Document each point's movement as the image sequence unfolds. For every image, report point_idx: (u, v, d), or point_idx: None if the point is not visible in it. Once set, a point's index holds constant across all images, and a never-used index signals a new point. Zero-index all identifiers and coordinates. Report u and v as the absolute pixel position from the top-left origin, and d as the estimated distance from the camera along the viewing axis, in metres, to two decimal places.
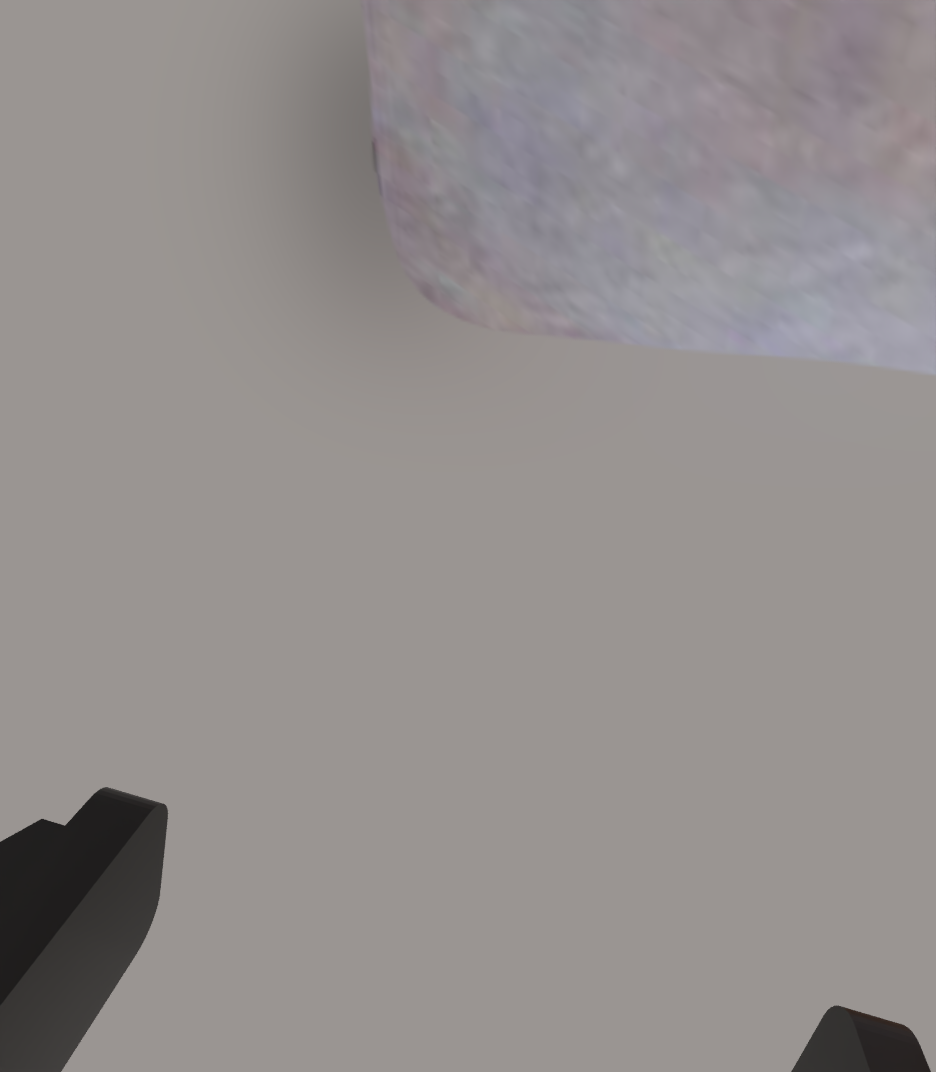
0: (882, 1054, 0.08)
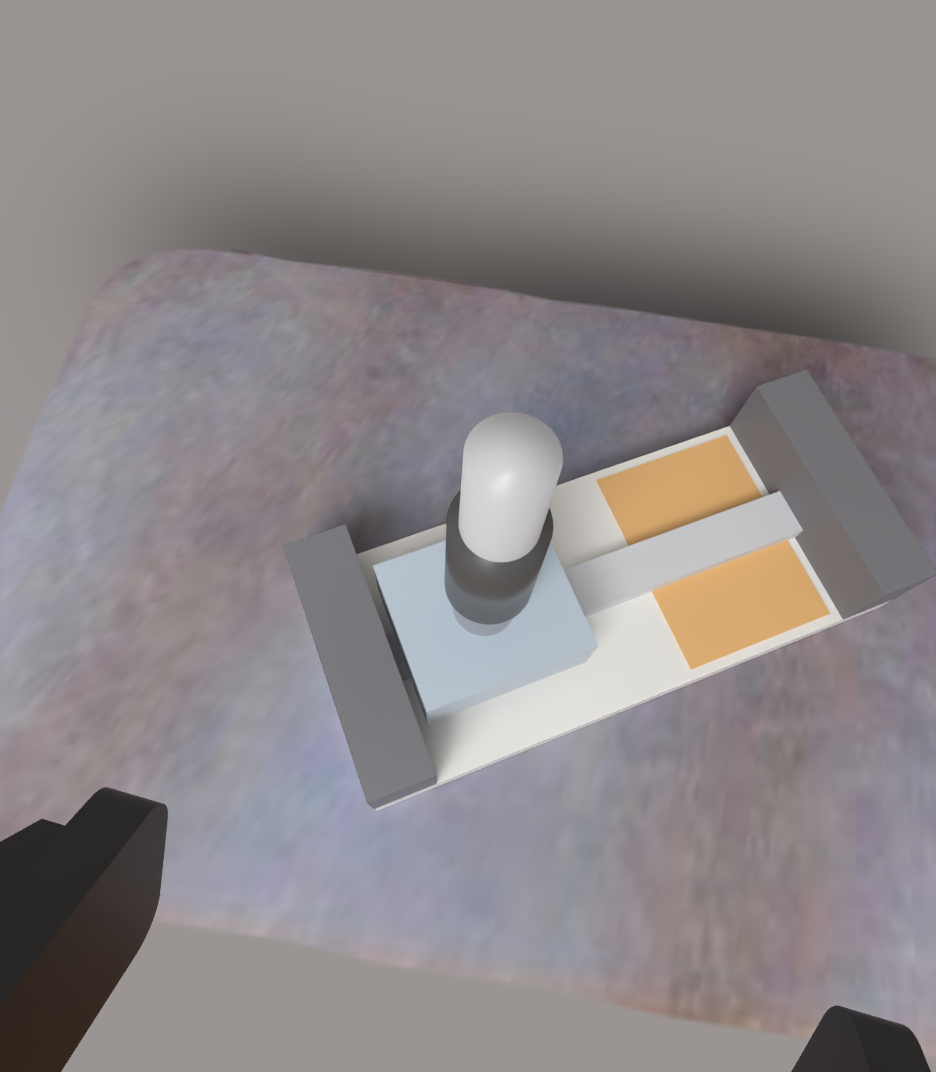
0: (882, 1054, 0.08)
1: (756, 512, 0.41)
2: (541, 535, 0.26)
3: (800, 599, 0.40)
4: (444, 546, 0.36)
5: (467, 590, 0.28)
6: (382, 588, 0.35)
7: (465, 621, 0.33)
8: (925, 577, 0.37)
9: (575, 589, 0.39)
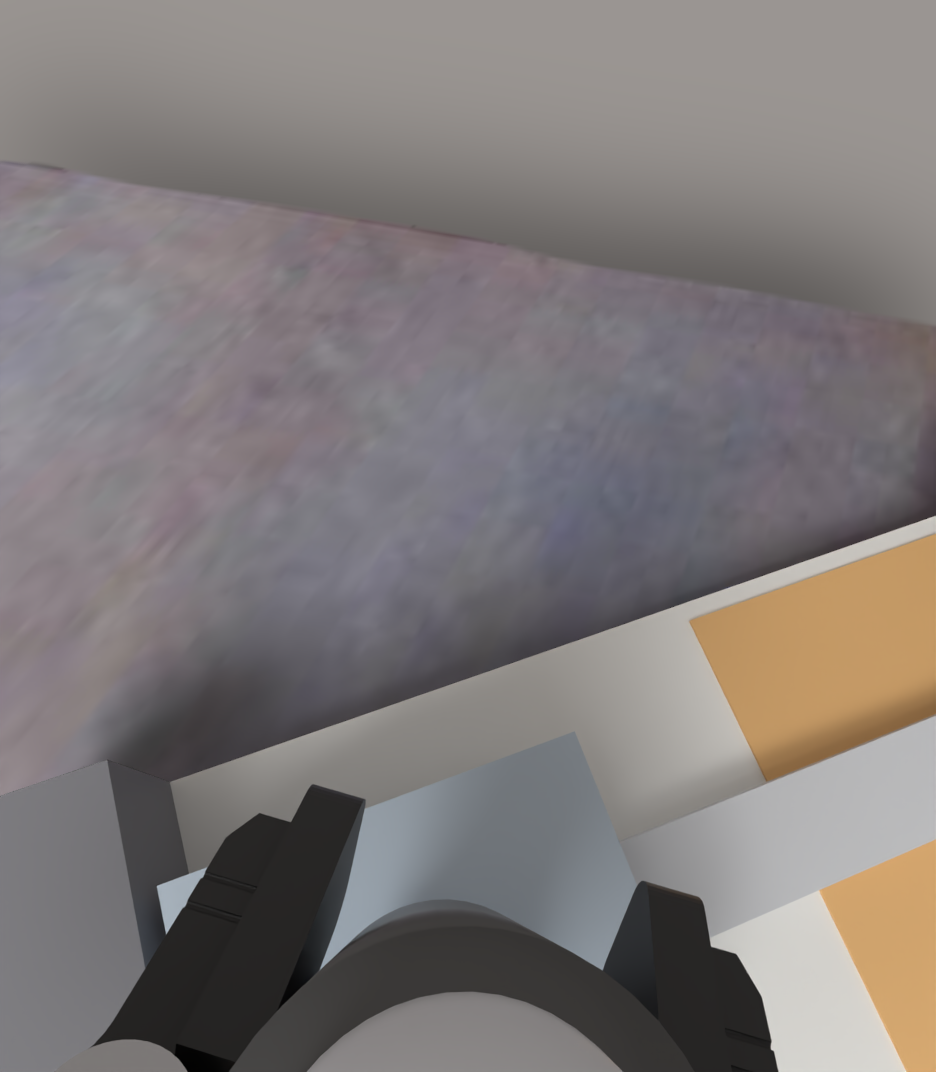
0: (667, 914, 0.09)
1: None
2: None
3: None
4: None
5: None
6: None
7: None
8: None
9: None
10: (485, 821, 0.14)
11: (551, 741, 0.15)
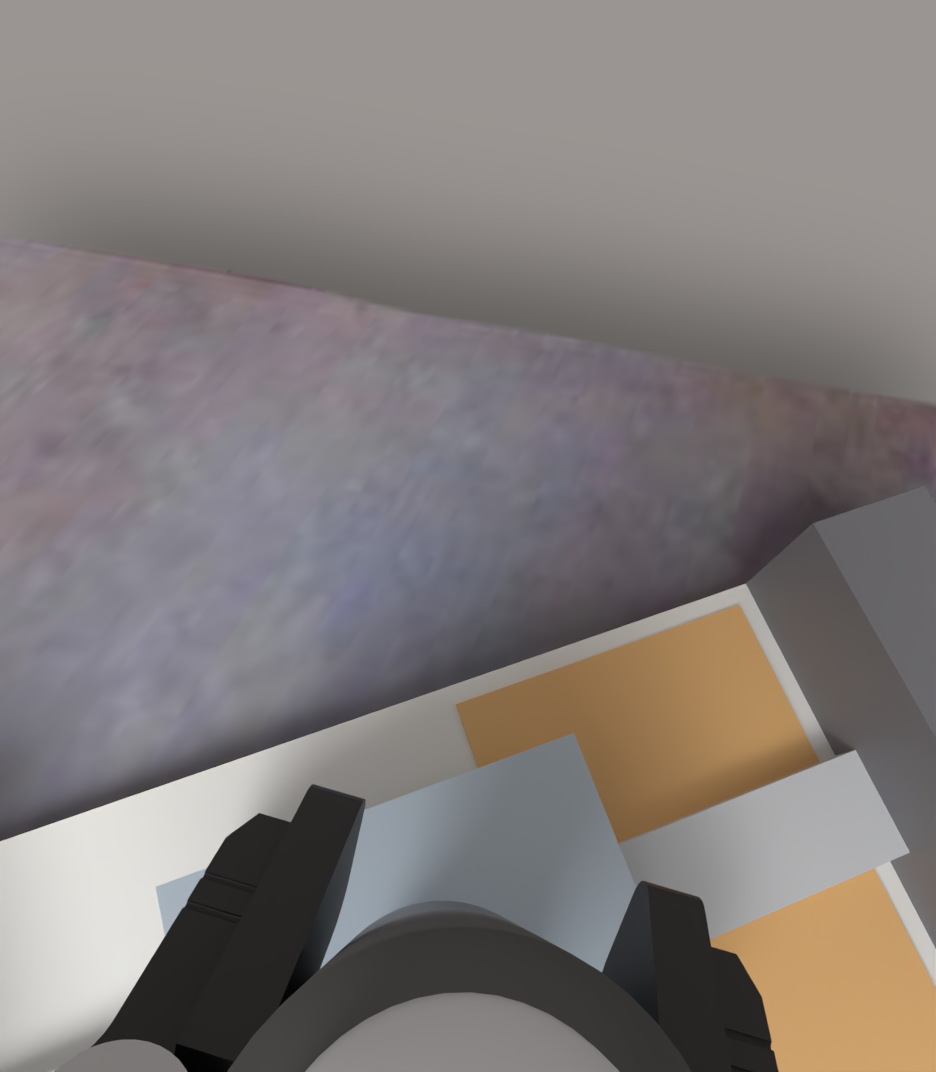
0: (666, 915, 0.09)
1: (804, 804, 0.18)
2: None
3: (904, 1023, 0.17)
4: None
5: None
6: None
7: None
8: None
9: None
10: (484, 822, 0.14)
11: (550, 743, 0.15)
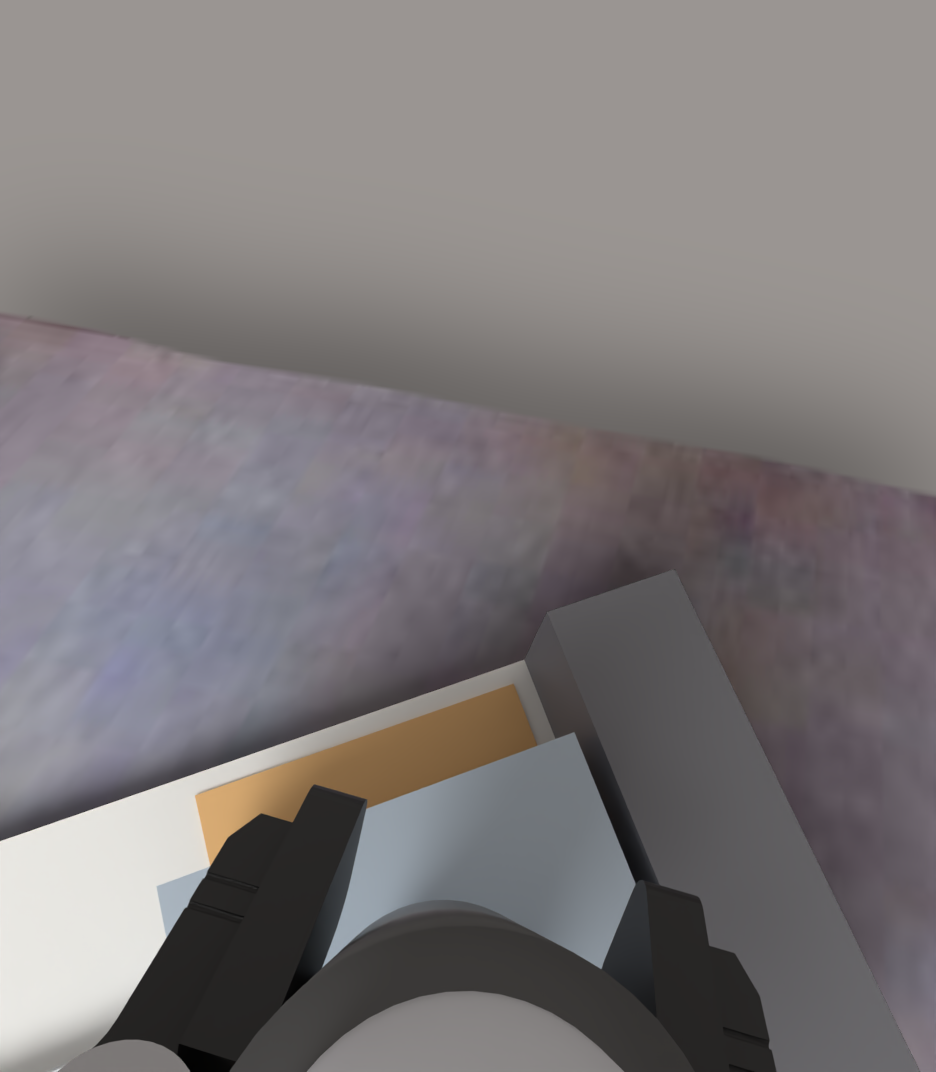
0: (665, 913, 0.09)
1: None
2: None
3: None
4: None
5: None
6: None
7: None
8: None
9: None
10: (484, 821, 0.14)
11: (551, 742, 0.15)
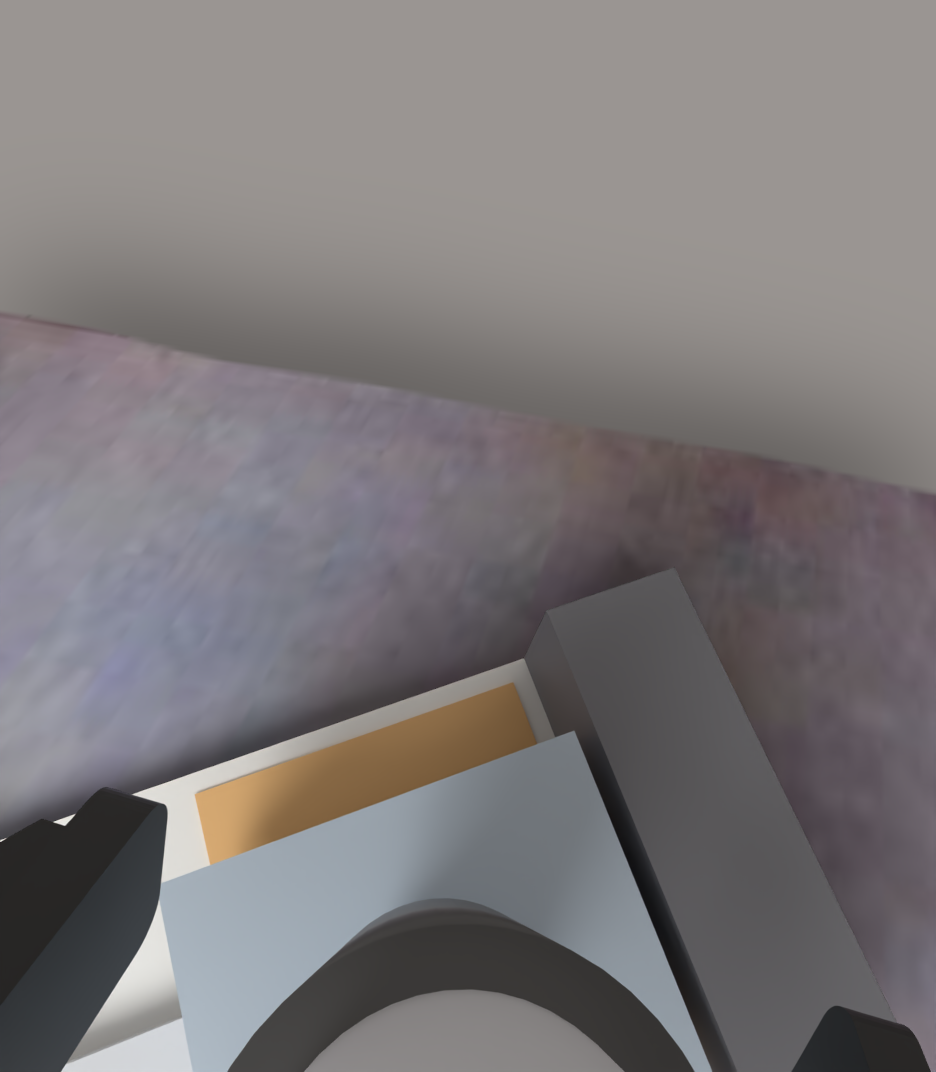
0: (882, 1054, 0.08)
1: None
2: None
3: None
4: (345, 830, 0.14)
5: None
6: (173, 953, 0.13)
7: None
8: None
9: None
10: (485, 820, 0.14)
11: (551, 740, 0.15)
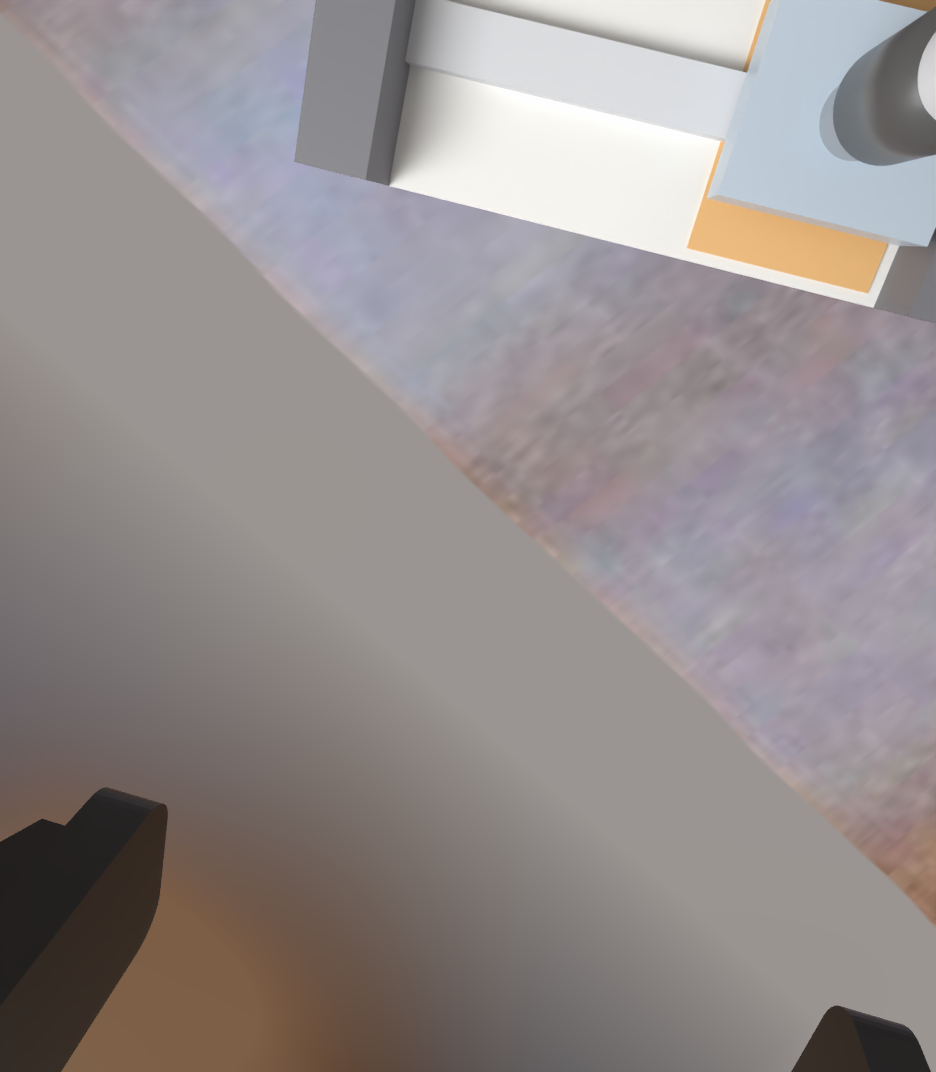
0: (882, 1054, 0.08)
1: None
2: None
3: (855, 259, 0.34)
4: (880, 10, 0.27)
5: (867, 113, 0.23)
6: (776, 18, 0.28)
7: (828, 127, 0.27)
8: None
9: (640, 81, 0.32)
10: None
11: None
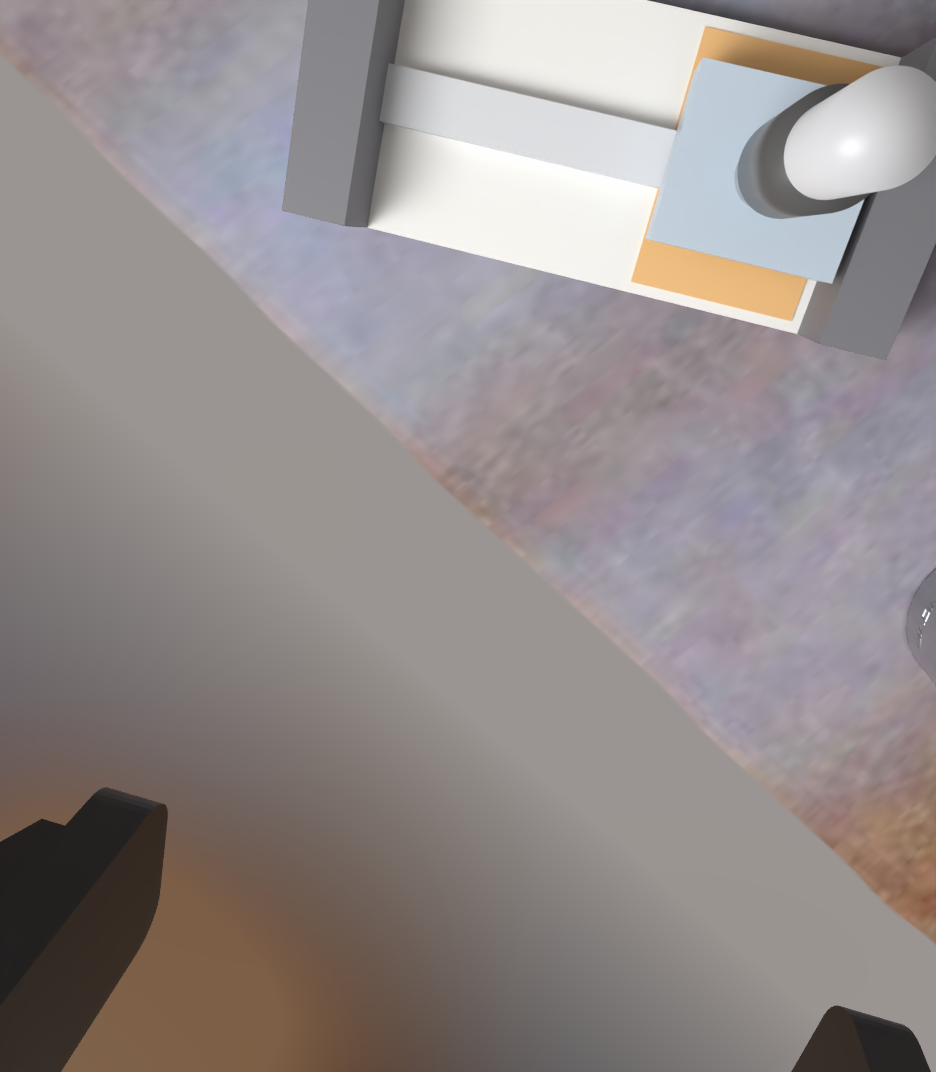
0: (882, 1054, 0.08)
1: None
2: None
3: (779, 291, 0.38)
4: (783, 83, 0.31)
5: (755, 181, 0.27)
6: (694, 89, 0.32)
7: None
8: (870, 355, 0.35)
9: (584, 138, 0.36)
10: None
11: None
